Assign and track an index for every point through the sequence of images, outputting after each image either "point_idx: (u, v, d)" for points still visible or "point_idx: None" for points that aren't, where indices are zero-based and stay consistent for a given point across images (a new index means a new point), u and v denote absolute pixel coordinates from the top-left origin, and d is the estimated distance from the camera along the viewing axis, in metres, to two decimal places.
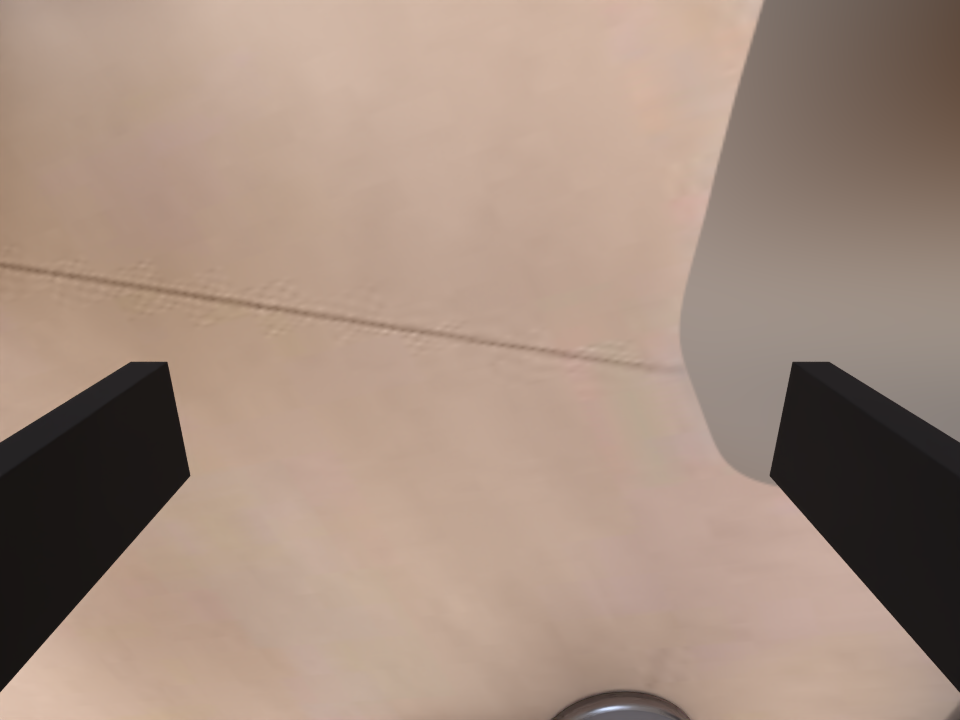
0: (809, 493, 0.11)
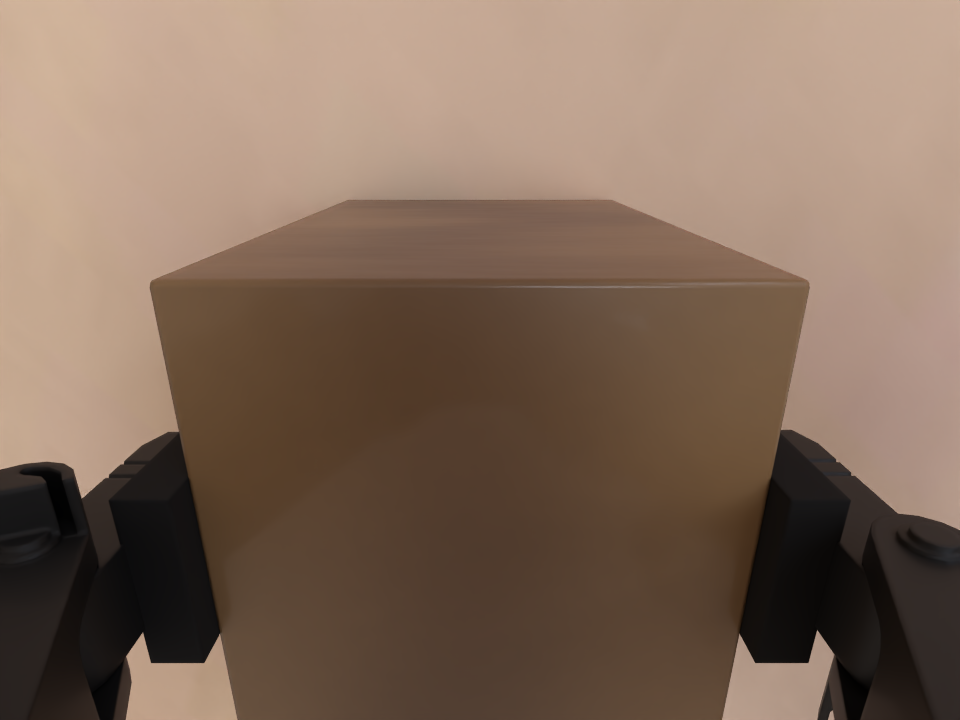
0: None
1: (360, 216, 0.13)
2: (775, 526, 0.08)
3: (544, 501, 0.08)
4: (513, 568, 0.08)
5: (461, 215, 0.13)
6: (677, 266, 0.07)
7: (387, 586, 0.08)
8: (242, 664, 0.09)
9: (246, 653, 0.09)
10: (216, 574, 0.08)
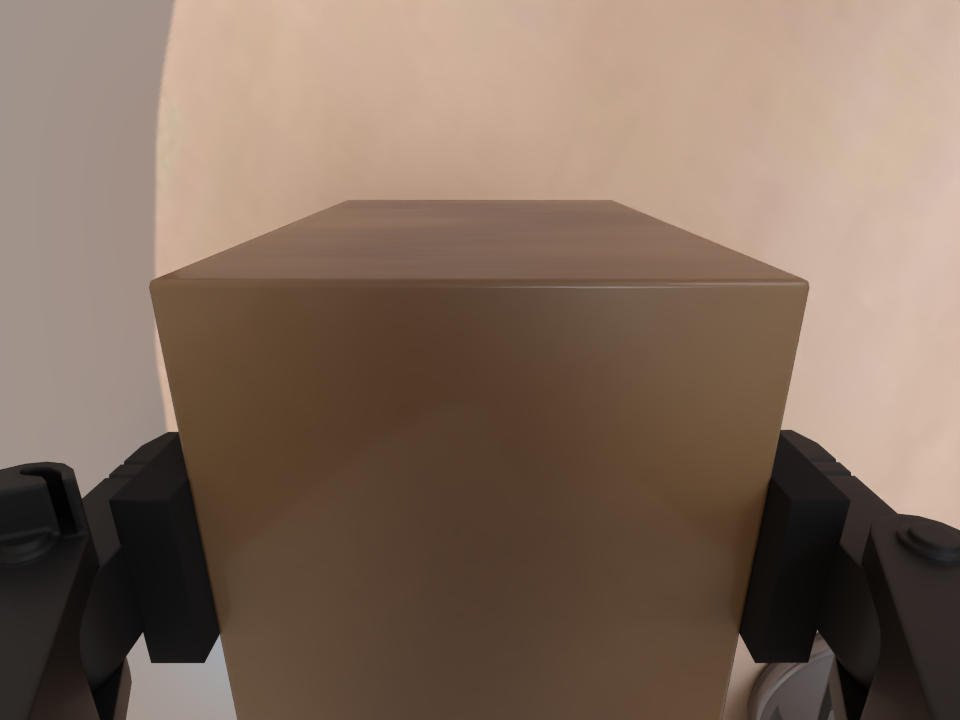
0: None
1: (360, 216, 0.13)
2: (775, 526, 0.08)
3: (544, 501, 0.08)
4: (513, 569, 0.08)
5: (461, 215, 0.13)
6: (677, 266, 0.07)
7: (387, 586, 0.08)
8: (241, 664, 0.09)
9: (245, 653, 0.09)
10: (216, 574, 0.08)
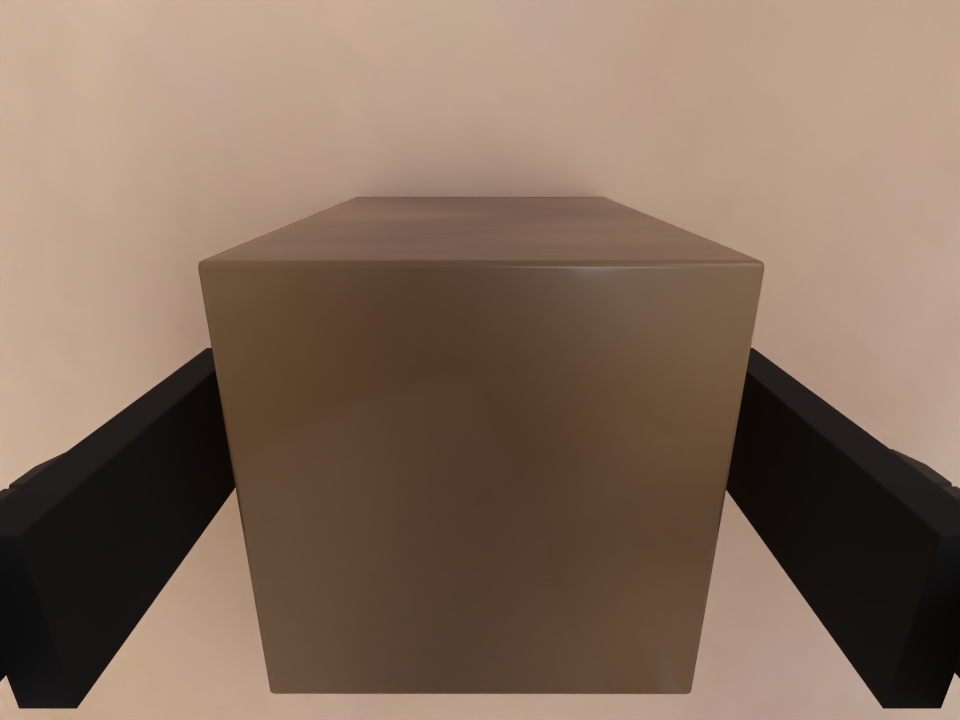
0: (731, 470, 0.12)
1: (371, 211, 0.14)
2: (915, 562, 0.07)
3: (538, 456, 0.09)
4: (510, 519, 0.09)
5: (464, 210, 0.14)
6: (653, 251, 0.09)
7: (399, 533, 0.09)
8: (269, 605, 0.10)
9: (273, 596, 0.10)
10: (249, 522, 0.09)
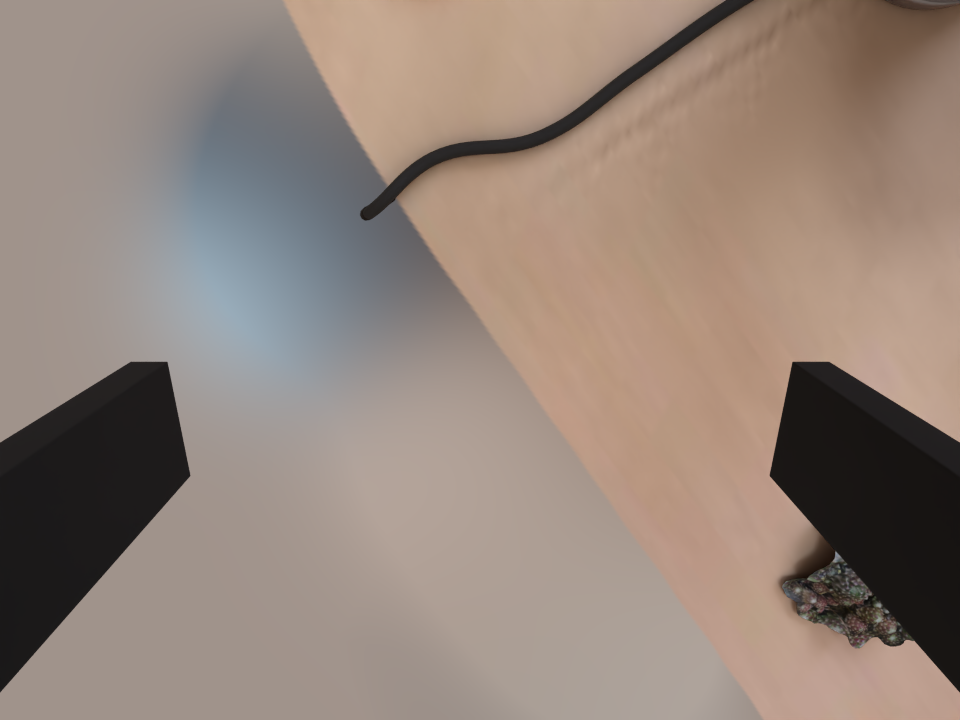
0: (809, 493, 0.11)
1: None
2: None
3: None
4: None
5: None
6: None
7: None
8: None
9: None
10: None
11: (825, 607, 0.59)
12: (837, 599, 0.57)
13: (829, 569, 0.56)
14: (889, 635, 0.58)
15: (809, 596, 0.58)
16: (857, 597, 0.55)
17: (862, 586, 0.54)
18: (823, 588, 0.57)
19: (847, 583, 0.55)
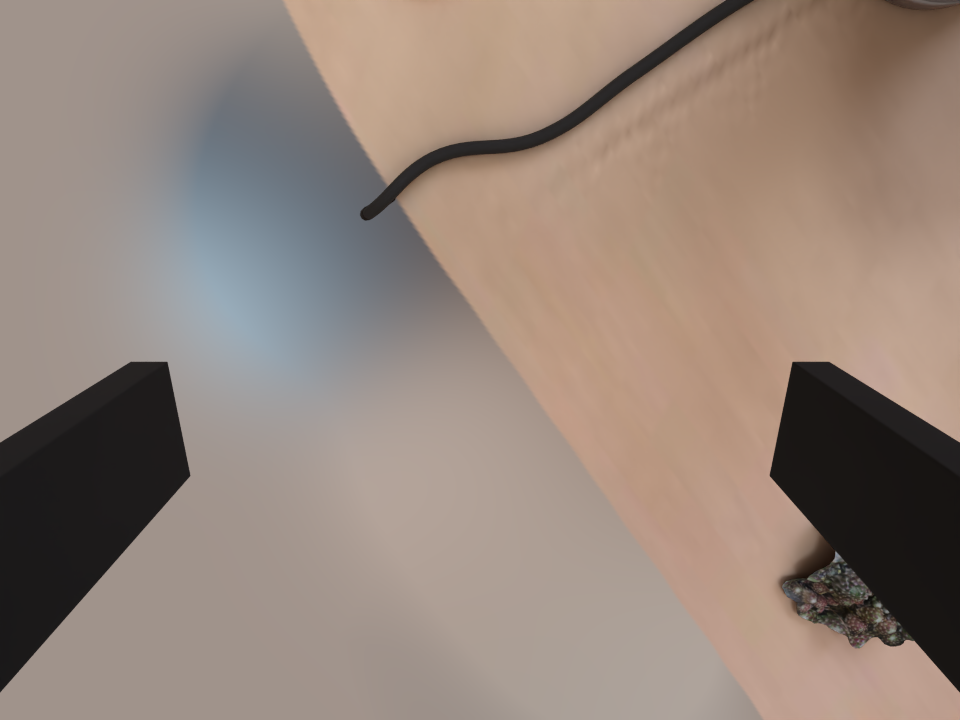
0: (809, 493, 0.11)
1: None
2: None
3: None
4: None
5: None
6: None
7: None
8: None
9: None
10: None
11: (825, 607, 0.59)
12: (837, 599, 0.57)
13: (829, 569, 0.56)
14: (889, 635, 0.58)
15: (809, 596, 0.58)
16: (857, 597, 0.55)
17: (862, 586, 0.54)
18: (823, 588, 0.57)
19: (847, 583, 0.55)
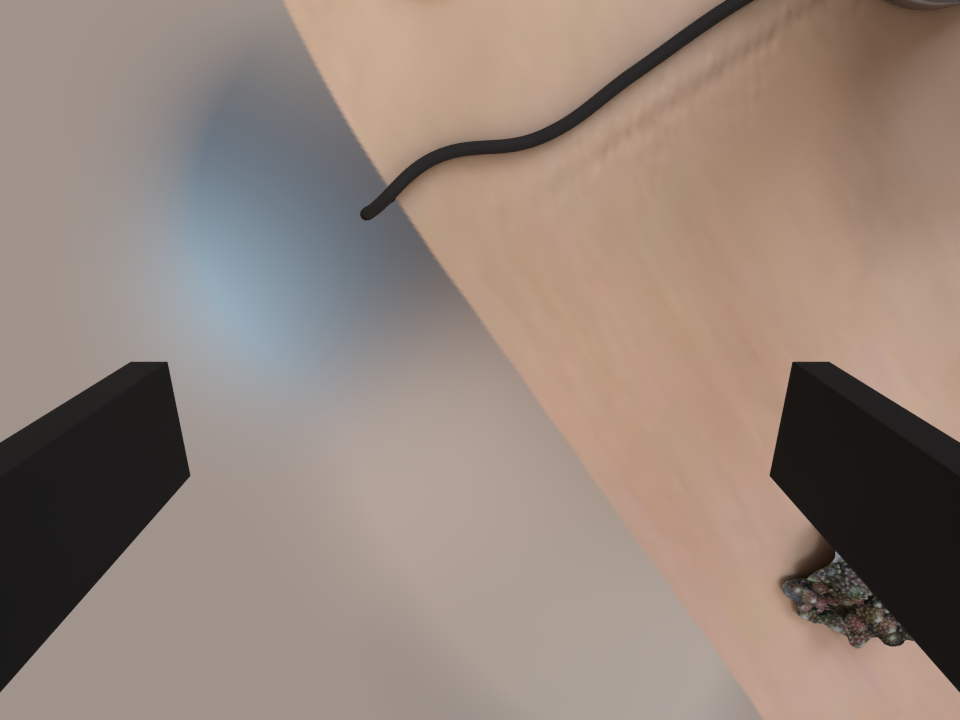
0: (809, 493, 0.11)
1: None
2: None
3: None
4: None
5: None
6: None
7: None
8: None
9: None
10: None
11: (825, 607, 0.59)
12: (837, 599, 0.57)
13: (829, 569, 0.56)
14: (889, 635, 0.58)
15: (809, 596, 0.58)
16: (857, 597, 0.55)
17: (862, 586, 0.54)
18: (823, 588, 0.57)
19: (847, 583, 0.55)
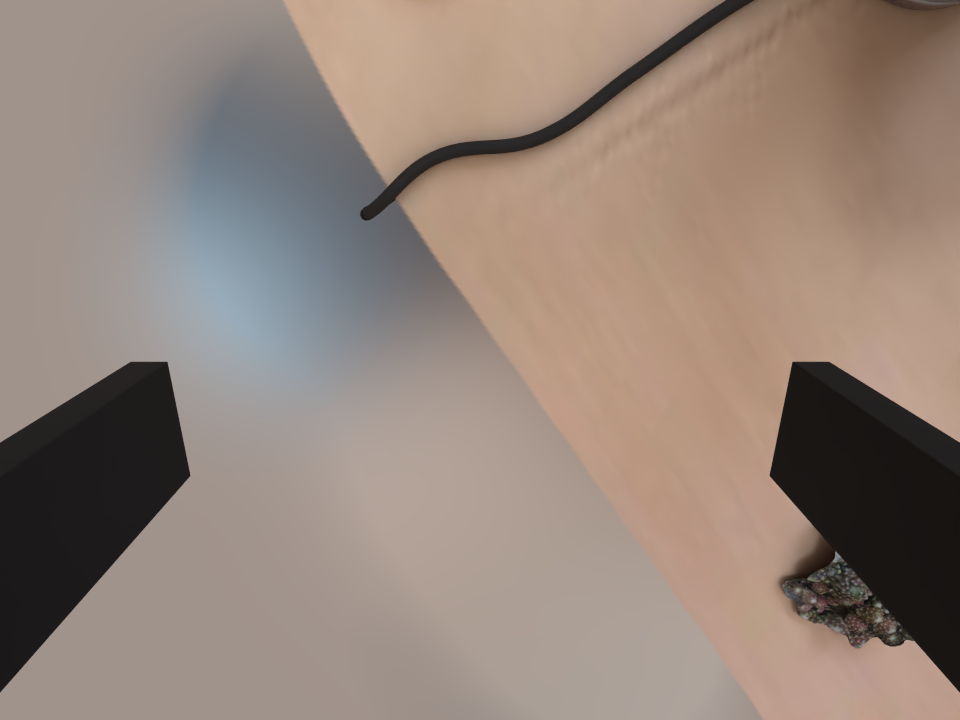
0: (809, 493, 0.11)
1: None
2: None
3: None
4: None
5: None
6: None
7: None
8: None
9: None
10: None
11: (825, 607, 0.59)
12: (837, 599, 0.57)
13: (829, 569, 0.56)
14: (889, 635, 0.58)
15: (809, 596, 0.58)
16: (857, 597, 0.55)
17: (862, 586, 0.54)
18: (823, 588, 0.57)
19: (847, 583, 0.55)
